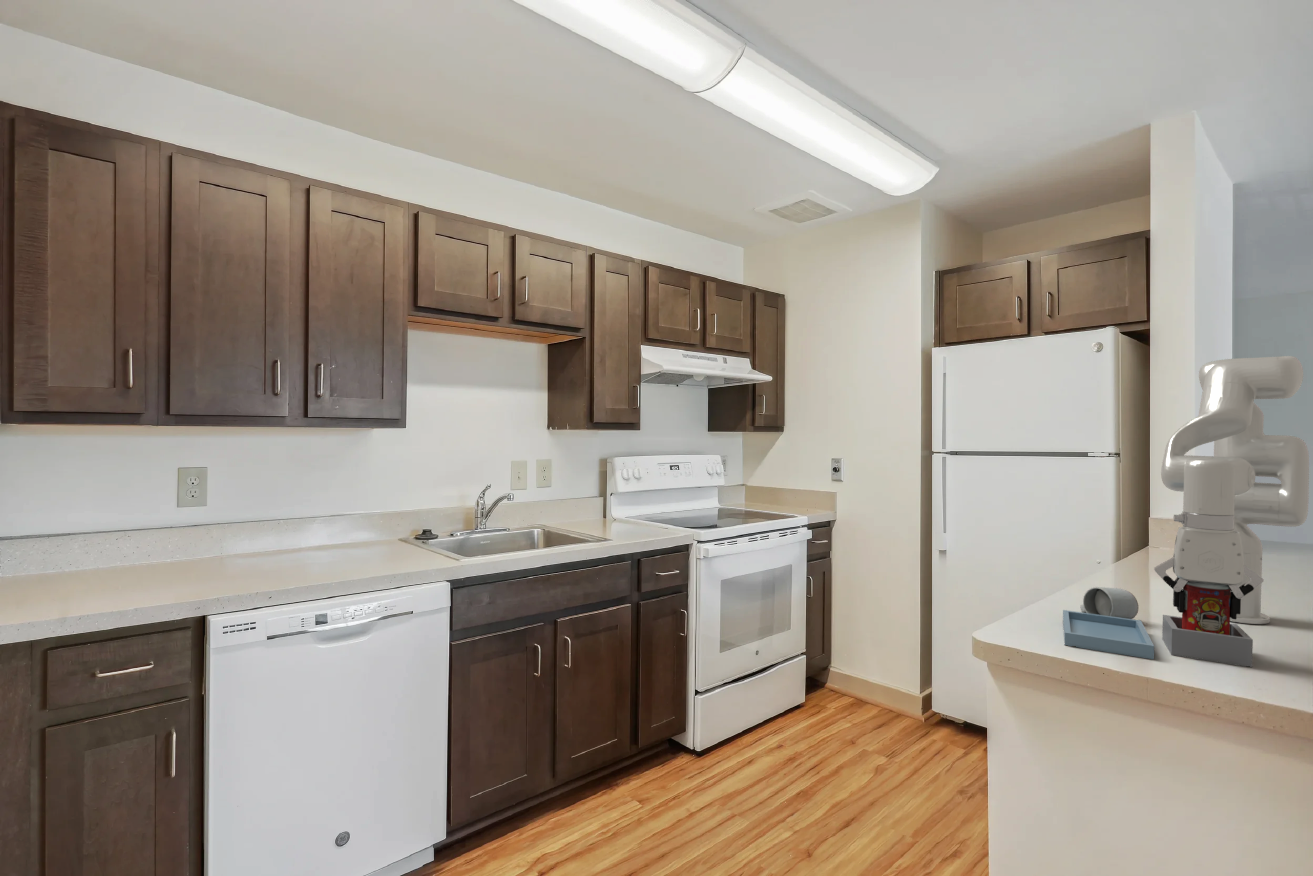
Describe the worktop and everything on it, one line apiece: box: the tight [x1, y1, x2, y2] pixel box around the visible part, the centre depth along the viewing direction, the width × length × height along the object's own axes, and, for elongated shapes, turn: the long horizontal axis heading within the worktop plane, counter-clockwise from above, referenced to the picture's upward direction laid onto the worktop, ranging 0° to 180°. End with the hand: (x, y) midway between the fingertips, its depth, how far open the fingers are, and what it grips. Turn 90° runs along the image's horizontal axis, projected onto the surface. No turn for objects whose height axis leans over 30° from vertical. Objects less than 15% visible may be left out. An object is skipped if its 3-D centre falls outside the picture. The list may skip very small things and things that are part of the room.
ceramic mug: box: [1080, 586, 1139, 619], centre depth 147 cm, size 11×8×8 cm
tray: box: [1062, 609, 1155, 660], centre depth 132 cm, size 20×14×2 cm
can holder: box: [1161, 614, 1254, 668], centre depth 125 cm, size 12×12×5 cm
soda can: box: [1181, 581, 1231, 635], centre depth 125 cm, size 7×7×12 cm
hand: (1205, 613), depth 125 cm, fingers closed on soda can, 7 cm apart
